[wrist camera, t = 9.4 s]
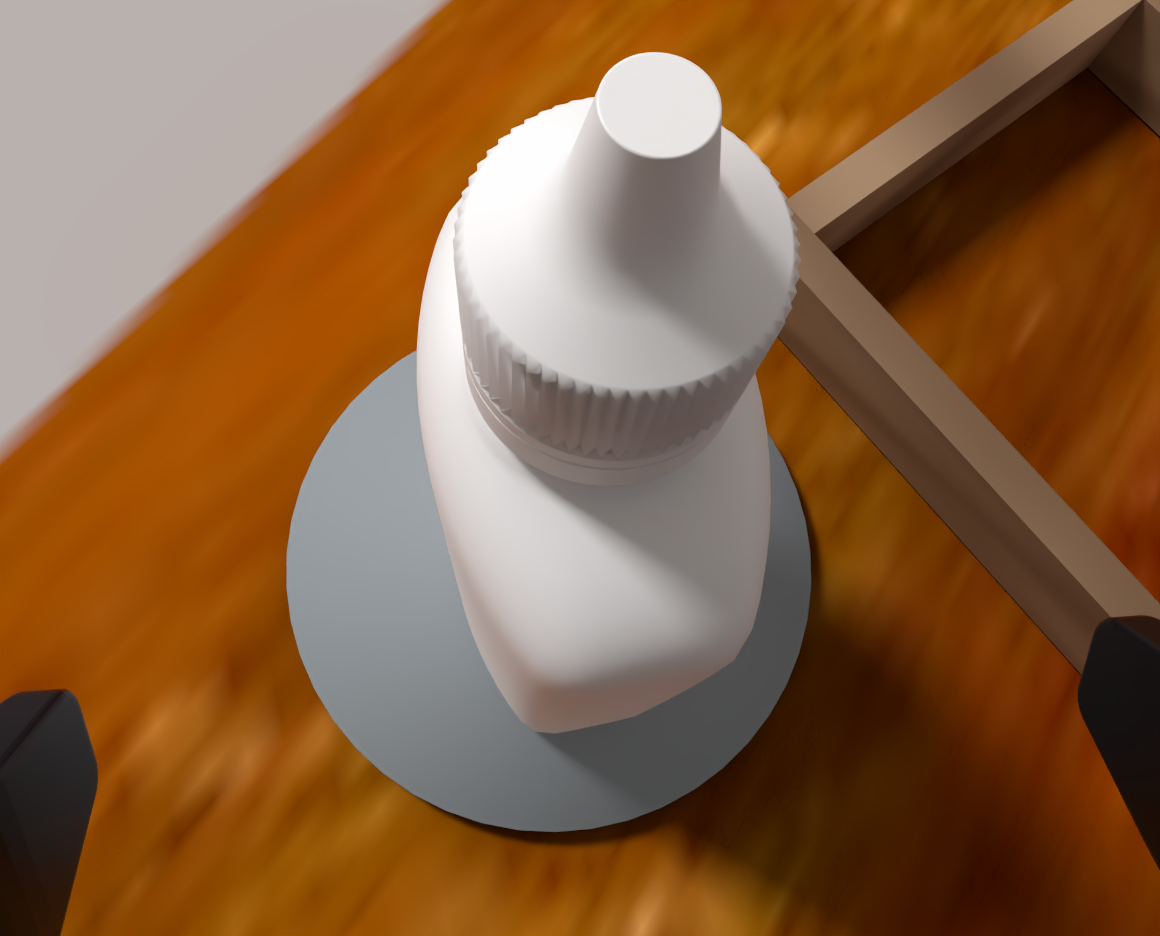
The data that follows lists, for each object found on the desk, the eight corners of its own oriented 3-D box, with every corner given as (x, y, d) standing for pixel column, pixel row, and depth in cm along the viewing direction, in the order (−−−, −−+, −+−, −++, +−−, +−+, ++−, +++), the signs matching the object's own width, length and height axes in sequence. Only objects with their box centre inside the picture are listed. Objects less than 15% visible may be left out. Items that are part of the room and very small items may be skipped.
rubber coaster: (501, 955, 15) (501, 959, 15) (189, 511, 17) (181, 505, 17) (907, 604, 17) (916, 600, 17) (592, 241, 19) (594, 230, 19)
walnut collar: (1122, 720, 17) (1199, 713, 15) (727, 279, 19) (750, 224, 17) (1467, 382, 20) (1570, 339, 18) (1085, 25, 22) (1140, -47, 20)
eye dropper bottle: (720, 452, 18) (1109, -145, 6) (633, 765, 16) (950, 731, 4) (488, 380, 18) (452, -338, 6) (378, 682, 16) (52, 444, 5)
